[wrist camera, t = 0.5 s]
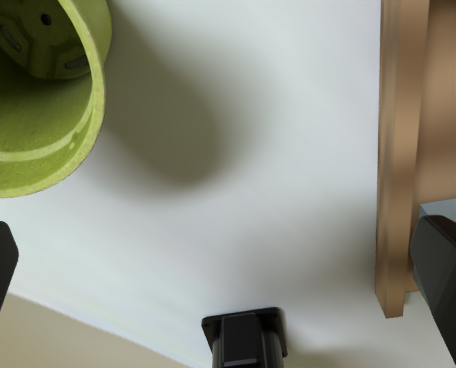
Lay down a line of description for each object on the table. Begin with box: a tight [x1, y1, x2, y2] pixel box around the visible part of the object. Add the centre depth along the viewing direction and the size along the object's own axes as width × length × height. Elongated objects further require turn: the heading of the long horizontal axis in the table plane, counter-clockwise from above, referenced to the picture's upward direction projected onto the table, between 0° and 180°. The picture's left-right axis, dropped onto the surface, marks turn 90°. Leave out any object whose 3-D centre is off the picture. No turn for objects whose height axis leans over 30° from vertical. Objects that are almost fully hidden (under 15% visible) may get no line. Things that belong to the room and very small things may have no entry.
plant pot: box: [0, 0, 112, 198], centre depth 15 cm, size 9×9×9 cm
